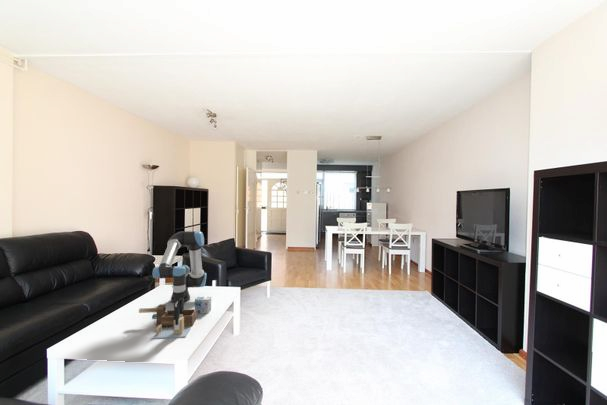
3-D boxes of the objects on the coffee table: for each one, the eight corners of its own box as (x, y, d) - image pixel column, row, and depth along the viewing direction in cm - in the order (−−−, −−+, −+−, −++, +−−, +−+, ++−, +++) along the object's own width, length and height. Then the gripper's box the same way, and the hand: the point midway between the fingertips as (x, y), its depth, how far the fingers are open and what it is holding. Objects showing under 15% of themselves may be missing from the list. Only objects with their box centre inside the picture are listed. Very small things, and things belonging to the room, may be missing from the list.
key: (140, 311, 198) (140, 308, 198) (161, 310, 200) (161, 307, 200) (138, 312, 196) (138, 309, 196) (160, 312, 198) (160, 308, 198)
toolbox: (161, 320, 205) (161, 302, 205) (196, 318, 208) (196, 301, 208) (154, 327, 193) (154, 309, 193) (192, 326, 196) (192, 308, 196)
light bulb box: (194, 313, 218) (194, 299, 218) (197, 309, 225) (197, 296, 225) (208, 313, 218) (208, 299, 218) (211, 310, 224) (211, 296, 224)
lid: (159, 330, 190) (159, 315, 189) (190, 329, 192) (190, 314, 192) (152, 339, 178) (152, 323, 178) (185, 338, 181) (185, 321, 180)
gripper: (177, 286, 194) (177, 320, 195) (167, 296, 175) (167, 334, 175) (189, 286, 195) (188, 320, 196) (180, 295, 176) (180, 333, 176)
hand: (178, 326), depth 185 cm, fingers open, 7 cm apart
